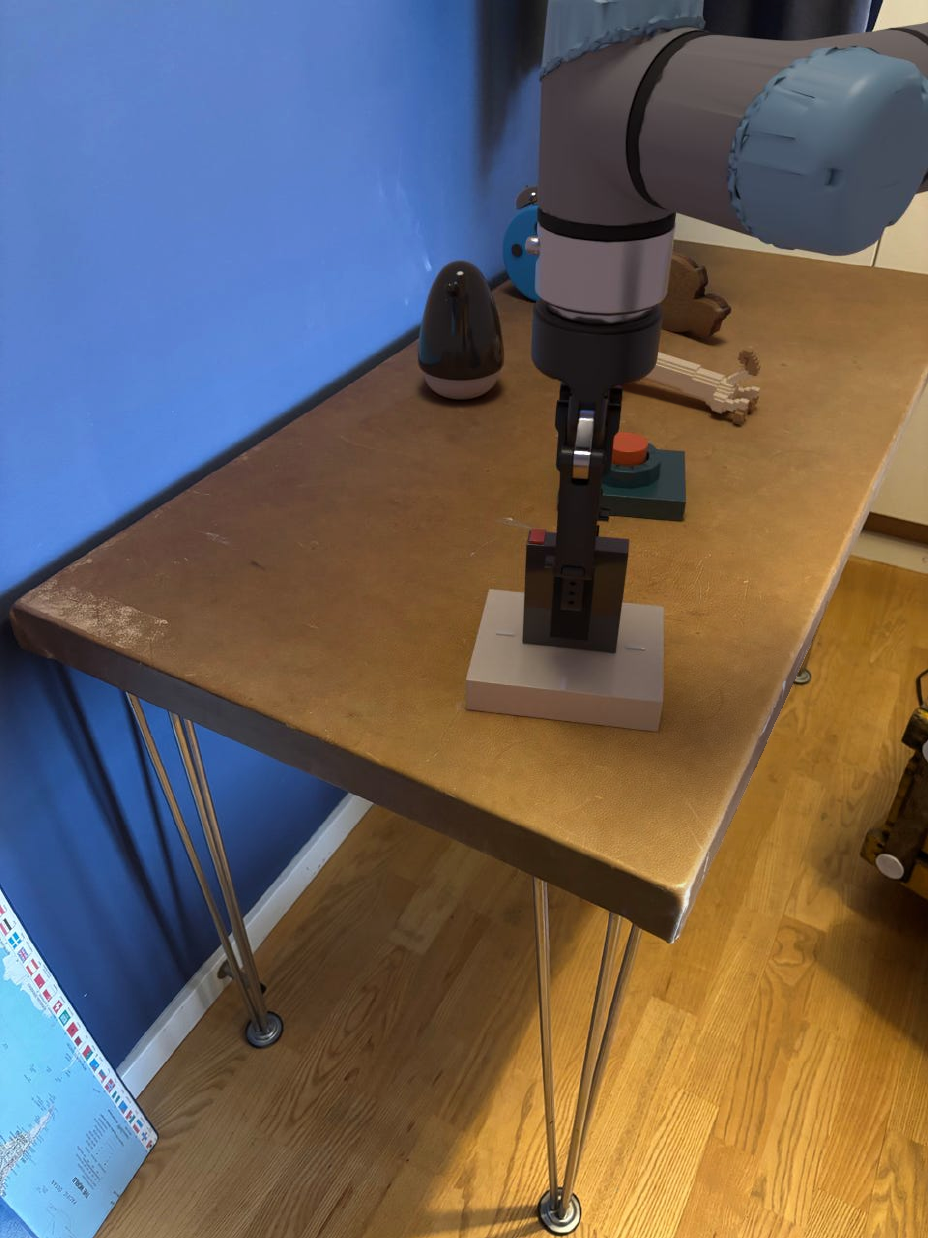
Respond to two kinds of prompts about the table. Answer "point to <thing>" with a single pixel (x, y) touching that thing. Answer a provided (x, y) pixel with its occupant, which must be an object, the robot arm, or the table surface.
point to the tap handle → (604, 597)
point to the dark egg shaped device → (460, 334)
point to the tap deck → (568, 670)
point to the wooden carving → (691, 300)
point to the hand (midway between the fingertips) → (571, 616)
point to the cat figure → (710, 383)
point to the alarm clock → (522, 243)
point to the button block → (647, 487)
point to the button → (629, 449)
